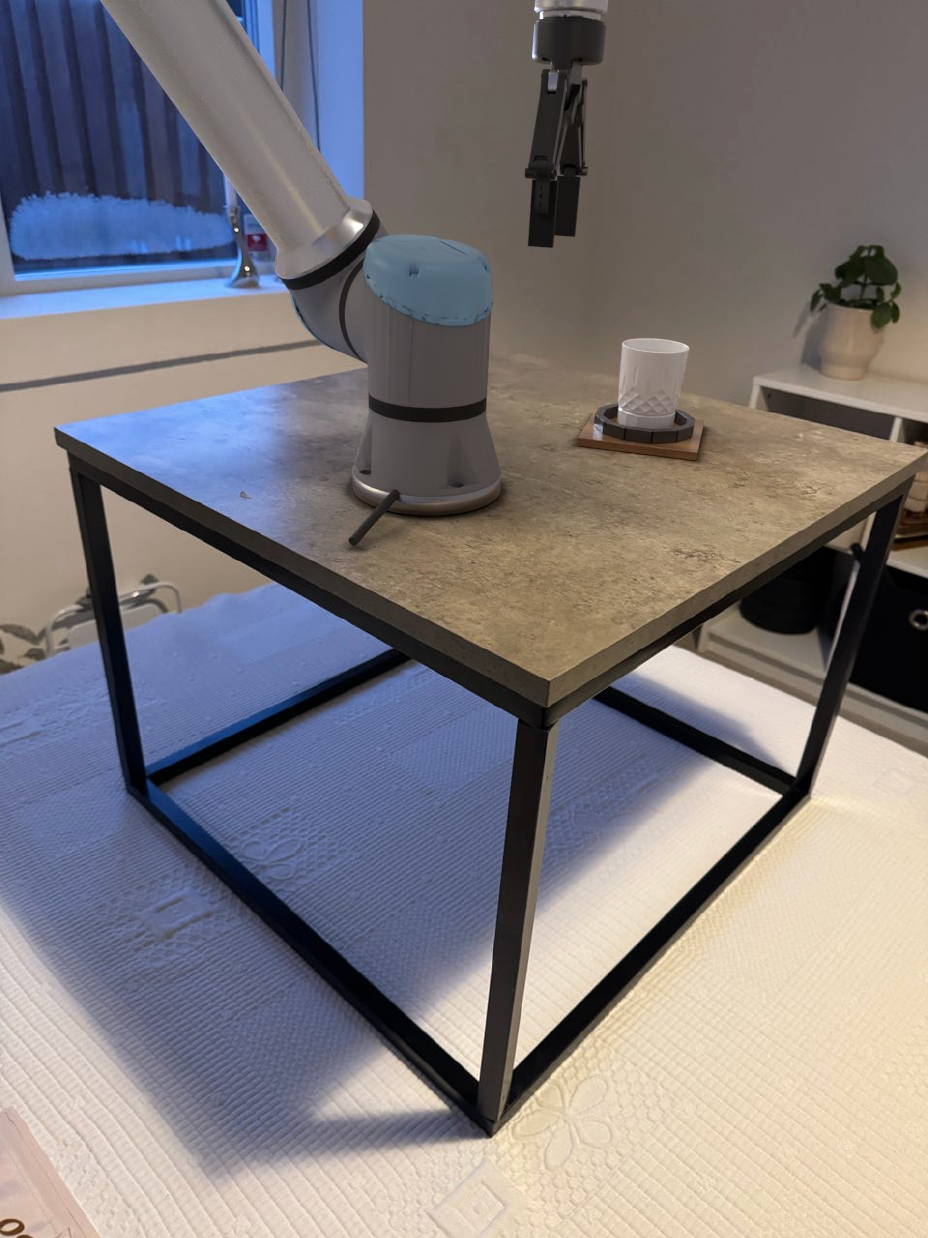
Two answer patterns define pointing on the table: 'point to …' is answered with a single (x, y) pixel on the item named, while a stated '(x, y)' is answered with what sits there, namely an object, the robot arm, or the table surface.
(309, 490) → the table surface
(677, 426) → the wooden coaster with ring
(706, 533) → the table surface
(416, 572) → the table surface
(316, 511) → the table surface
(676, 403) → the white cup
